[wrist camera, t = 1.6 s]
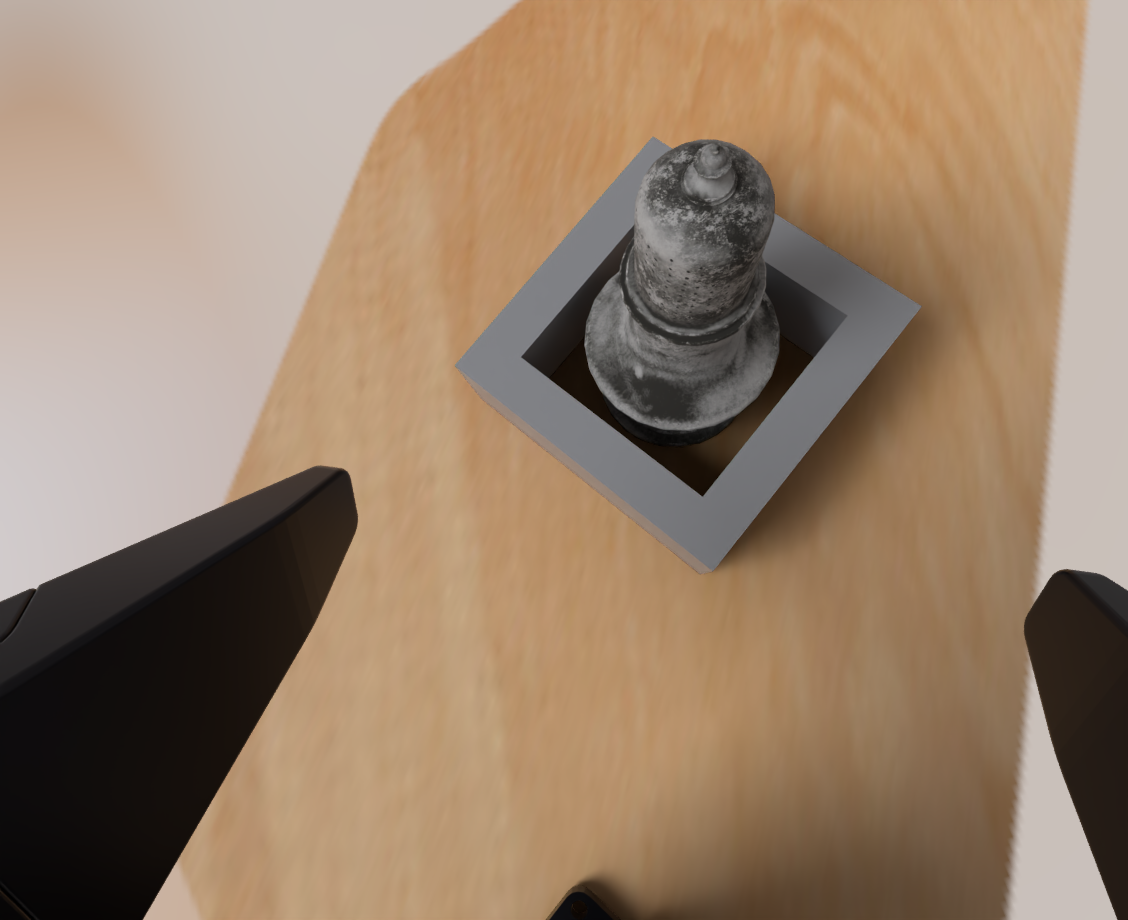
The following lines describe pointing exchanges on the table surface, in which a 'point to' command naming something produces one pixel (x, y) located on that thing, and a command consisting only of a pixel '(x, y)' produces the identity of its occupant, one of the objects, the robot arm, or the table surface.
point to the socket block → (613, 463)
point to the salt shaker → (689, 299)
